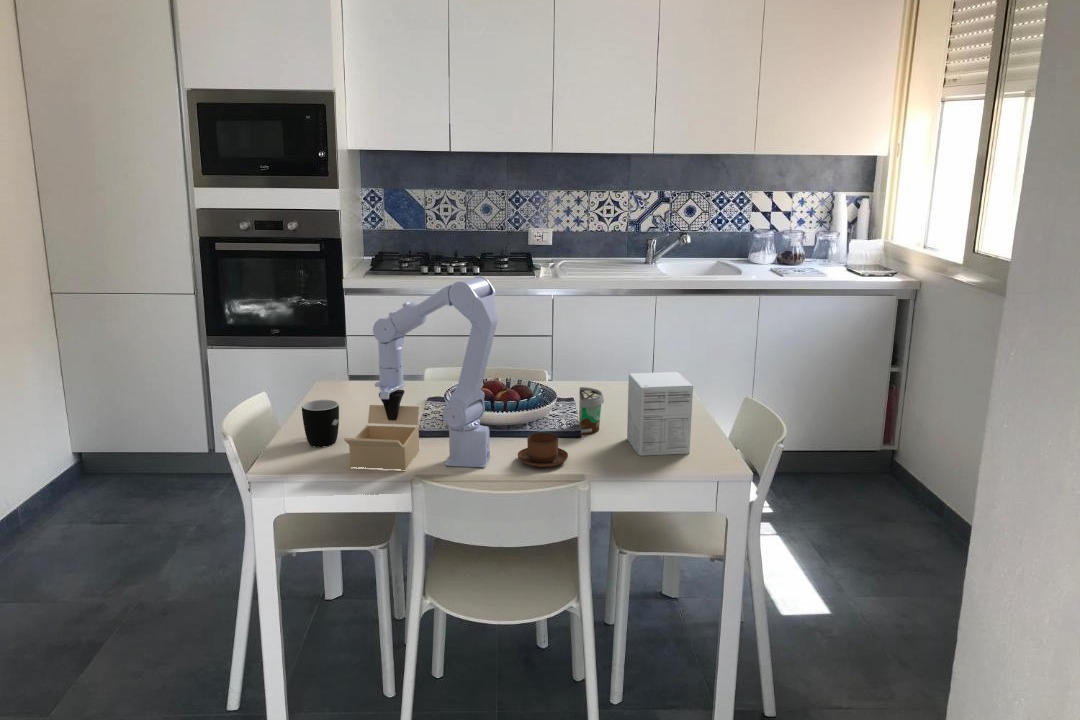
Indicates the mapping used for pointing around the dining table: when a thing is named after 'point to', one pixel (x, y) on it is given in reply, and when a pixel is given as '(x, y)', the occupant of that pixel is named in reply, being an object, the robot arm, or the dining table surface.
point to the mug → (321, 422)
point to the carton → (386, 448)
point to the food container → (590, 410)
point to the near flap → (373, 442)
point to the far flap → (405, 417)
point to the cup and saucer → (542, 451)
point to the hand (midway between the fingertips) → (392, 419)
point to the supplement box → (659, 413)
